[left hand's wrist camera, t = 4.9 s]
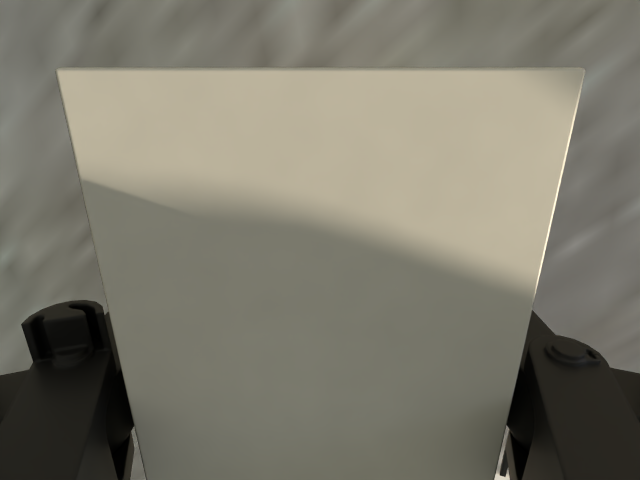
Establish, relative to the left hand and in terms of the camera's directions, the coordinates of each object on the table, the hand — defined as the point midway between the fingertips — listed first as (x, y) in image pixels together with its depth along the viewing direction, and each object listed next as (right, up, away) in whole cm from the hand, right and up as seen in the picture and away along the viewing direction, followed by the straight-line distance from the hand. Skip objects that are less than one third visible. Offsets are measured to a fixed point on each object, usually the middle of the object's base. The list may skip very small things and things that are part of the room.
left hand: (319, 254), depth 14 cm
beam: (0, -33, +13) cm, 35 cm away
